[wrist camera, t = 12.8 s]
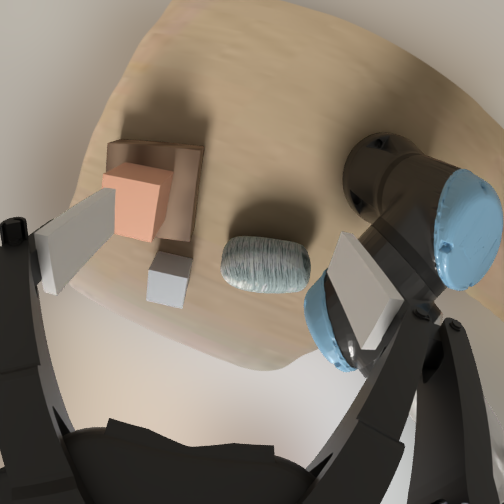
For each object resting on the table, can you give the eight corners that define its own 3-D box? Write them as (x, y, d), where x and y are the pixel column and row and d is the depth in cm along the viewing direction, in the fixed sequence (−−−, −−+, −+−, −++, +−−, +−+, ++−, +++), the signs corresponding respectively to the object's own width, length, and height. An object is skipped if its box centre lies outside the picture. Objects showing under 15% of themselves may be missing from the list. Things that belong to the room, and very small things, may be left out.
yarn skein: (324, 235, 41) (313, 291, 35) (305, 268, 49) (293, 318, 43) (237, 206, 42) (213, 257, 36) (231, 243, 50) (210, 290, 44)
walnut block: (204, 146, 38) (200, 150, 33) (194, 228, 44) (189, 241, 39) (121, 138, 36) (107, 143, 32) (118, 218, 42) (106, 230, 38)
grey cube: (192, 258, 46) (187, 278, 41) (187, 287, 49) (182, 308, 43) (158, 250, 45) (148, 269, 40) (154, 279, 48) (146, 300, 42)
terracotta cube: (173, 171, 34) (160, 185, 28) (164, 220, 38) (151, 242, 31) (125, 162, 33) (103, 174, 27) (119, 209, 36) (99, 229, 30)
